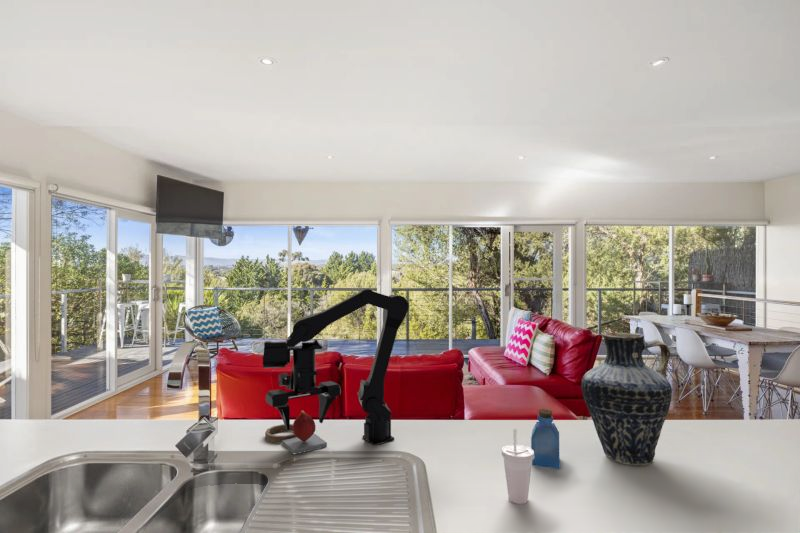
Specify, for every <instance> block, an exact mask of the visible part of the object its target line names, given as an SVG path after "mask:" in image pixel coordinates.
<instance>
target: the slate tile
mask: <svg viewBox="0 0 800 533" xmlns="http://www.w3.org/2000/svg"><path fill="white" fill-rule="evenodd" d="M282 446H284V447H285V448H286V449H287V450H288V451H289V452H290V451H291V452H292V453H291V452H290V453H291V454H293V453H298V454H300V453H299V452H302V453H305V452H304V451H306V452H309V450H310V451H314V450H317V449H323V448H325V447H328V442H327V441H325V440H324V439H323V438H321V437H320V436H319V435H317V434H315V433H314V434H313V435H312V436H311V437H310V438H309V439H308V440H306V441H305V442H303V441H301V440H300V439H299V438H297V437H296V438H291V439H287V440H283V441H282Z"/></svg>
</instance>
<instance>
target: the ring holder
mask: <svg viewBox="0 0 800 533" xmlns="http://www.w3.org/2000/svg"><path fill="white" fill-rule="evenodd" d="M289 431H290V432H293V423H290V426H289V430H286V427H285V425H284V423H282V424H278V425H273V426H270V427H269V428H267V429H266V430H265V434H264V435H265V437H264V438H266V439H265V440H266V441H267V442H270V443H275V444H281V443H282V441H283V440H287V439H291V438H296V436H295V435H294V433H290V434H283V435H276V433H279V432H289Z"/></svg>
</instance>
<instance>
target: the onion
mask: <svg viewBox="0 0 800 533" xmlns="http://www.w3.org/2000/svg"><path fill="white" fill-rule="evenodd" d="M292 424H293V431H292V434H294V435H295V436H296V437H297V438H299V439H300V440H301V441H303V442H305V441H306V440H308V439H309V438H310V437H311V436H312V435H313V434H315V432H316V423H315V420H314V419H313V418H312V417H311V415H309V414H308V413H306V412H305V411H304V410H301V411H300V414H299V415H298V416H297V417H296V418H295V419H294V420H293V423H292Z"/></svg>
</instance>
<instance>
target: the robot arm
mask: <svg viewBox="0 0 800 533" xmlns="http://www.w3.org/2000/svg"><path fill="white" fill-rule="evenodd" d="M367 305H371V306H373V307H374V306H375V307H377V308H380V309H382V328H381V330H380V334H379V339H378V342H377V347H376V349H375V354H374V357H373V360H372V361H373V362H372V365H371V369H370V372H369V375H368V377H367V378H366V380H363V379H361V380H360V385H359V390H358V391H357V393H356V394H357V396H358V402H359V403H360V405H361V408H362V410H363V412H364V413H366V414H368V415H367V416H366V415H365V416H364V417H365V421H364V423H363V435H362V438H363V440H365V441H367V442H369V443H370V444H372V445H379V444H383V443H387V442H391V441H394V440H395V437H394V436H392V411H391V409H390V408H389V407H388V405H387V403H386V402H385V401H384V399H385V379H386V376H387V371H388V367H389V363H390V359H391V356H392V352H393V348H394V344H395V341H396V336H397V334H398V330H399V328H400V326H402V323H403V322H404V321H405V318H406V316H407V313H408V312H409V308H410V303H409V301H408V300H407V298H406V297H404V296H403V295H399V294H394V293H393V294H390V295H386V294H382V293H380V292H379V293H378V292H376V291H373V289H369V288H363V289H360V291H359V292H357V293H355V294H352V295H351V296H350V297H347V298H345V299H343V300H341V301H340V302H338V303H336V304H334V305H332V306H330V307H327V308H326V309H324V310H322V311H319V312H315V313H311V314H308V315H306V316H302V317H299V318H298V319H296V320H295V321H294V323H293V327H292V332H291V333H290V334H289V336H288V337H287V339H286V340H285V341H283V340H282V341H271V340H268V341H266V340H265V341H264V343H263V355H262V368H263V369H276V368H277V369H278V368H281V369H282V368H286V367H287V366H288V364H291V351H292V369H291V371H290V375H288V373H287V372H284V373H279V374H278V386H279V387H285V389H286V390H290V391H285V390H283V389H282V388H280V389H279V388H278V389H273V390H268V391H267V392H266V395H265V403H267V405H270V406H271V407H272V408H275V409H277V410H278V412H279V414H280V417H281V419H282V422H283V424H284V425H285V427H286V430H289V426H290V424H291V423H290V421H291V420H290V416H291V414H290V413H291V411H290V408H291V407H290V405H289V404H288V403H289V402H290V401H289V400H294V399H299V398H306V397H311V396H316V395H317V396H318V400H319V403H318V405H319V406H318V421H319V423H320V424H323V422H324V419H325V417H326V415H327V413H328V411H329V409H330V407H331V405H332V403H333V401H334V400H336V399H337V396H341V394H342V388H341V386H340V384H338V383H336V382H334V381H332V380H329V381H323V382H319V384H318V386H316V376H318V370H316V350H322V349H323V344H322V343H321V342H320V341H319V340H318V338H315V339H314V337H316V336H318V335H319V334H320V333H321V332H323V331H324V330H325V329H326V328H327V327H328V326H329V325H331V324H332V323H335V322H337V321H338V320H341V319H342V318H344V317H346V316H348V315H350V314H352V313H353V312H356V311H357V310H359V309H361V308H363V307H365V306H367ZM312 339H314V340H313V341H312V342H311V340H312ZM309 341H310V342H309ZM300 343H301V345H299V344H300Z"/></svg>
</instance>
